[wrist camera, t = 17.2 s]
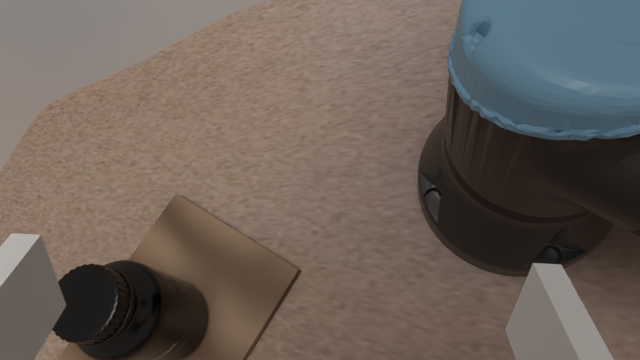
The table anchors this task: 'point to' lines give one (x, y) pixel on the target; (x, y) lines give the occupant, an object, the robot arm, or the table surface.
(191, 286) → the supplement bottle
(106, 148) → the table surface
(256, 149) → the table surface
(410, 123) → the table surface
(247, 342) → the board
